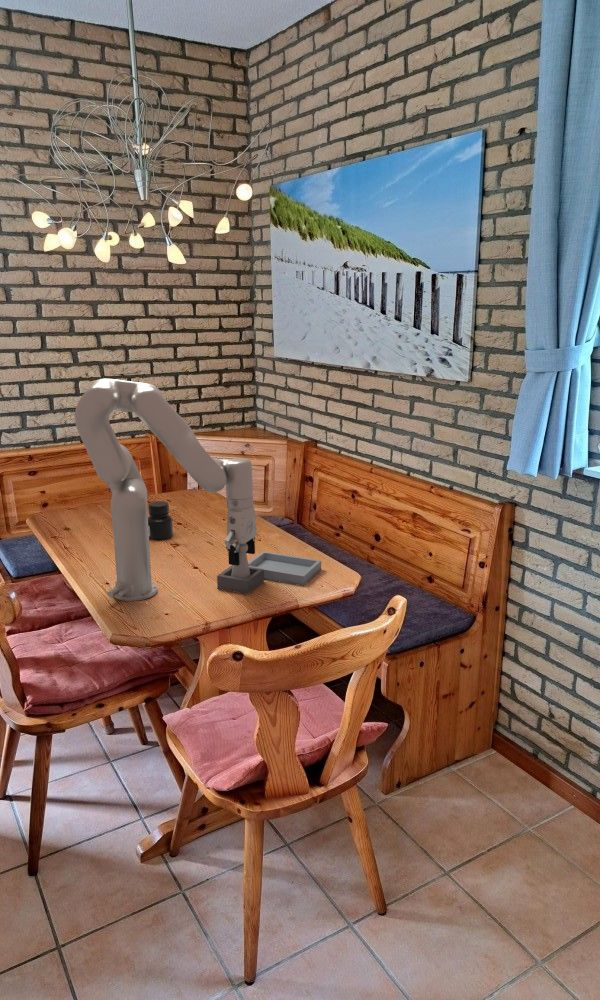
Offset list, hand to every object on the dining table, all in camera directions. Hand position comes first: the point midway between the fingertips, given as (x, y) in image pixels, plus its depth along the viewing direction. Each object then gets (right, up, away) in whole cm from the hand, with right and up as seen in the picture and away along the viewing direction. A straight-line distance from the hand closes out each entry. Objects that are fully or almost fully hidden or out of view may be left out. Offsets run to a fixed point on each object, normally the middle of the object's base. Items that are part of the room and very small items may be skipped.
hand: (242, 558), depth 205 cm
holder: (-1, -8, +2) cm, 8 cm away
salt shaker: (-1, -8, +2) cm, 8 cm away
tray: (+11, -5, +12) cm, 17 cm away
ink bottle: (-32, +4, +43) cm, 54 cm away
